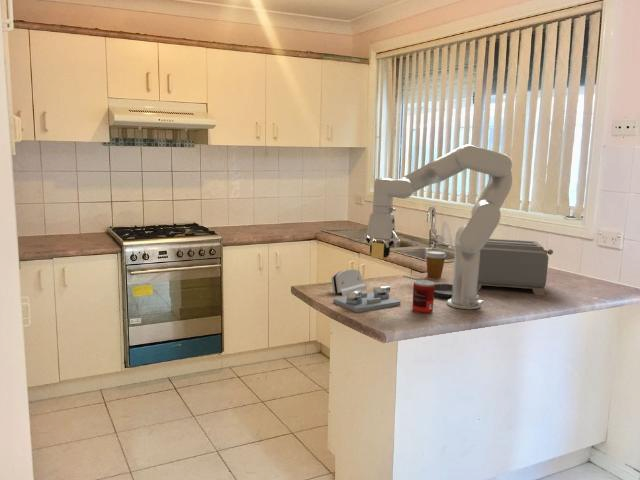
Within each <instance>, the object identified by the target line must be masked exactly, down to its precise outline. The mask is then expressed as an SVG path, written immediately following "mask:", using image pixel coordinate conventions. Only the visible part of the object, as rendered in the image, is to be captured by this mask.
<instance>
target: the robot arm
mask: <svg viewBox="0 0 640 480" xmlns="http://www.w3.org/2000/svg"><path fill="white" fill-rule="evenodd" d="M512 167H513V163H512V160H511V158H510V156H509V155H507V154H506V153H504V152H503V153H502V152H498V151H495V150H490V149H486V148H482V147H479V146H476V145H472V144H464V145H462V146H458V147H457V148H456V149H453V150H451V151H450V152H447V153H445V154H444V155H442V156H439V157H438V158H436V159H433V160H431V161H429V162H428V163H426V164H425V165H424V166H422V167H419V168H418V169H416V170H414V171H412V172H410V173H408V174H406V175H404V176H402V177H400V178H399V179H393V178H390V177H377V178H375V179H374V182H373V197H372V212H370V215H369V220H368V224H367V225H368V226H367V230H366V231H364V233H363V235H362V237H363V238H364V239H365V240H366V242H367V243H368V245H369V253H370V254H371V252H372V242H375V241H376V240H384V241H385V244H386V247H385V250H384V257H385V259H387V258H388V257H389V256H390V252H391V247H392V246H393V245H394V244H395V243H397V242H399V240H400V239H399V237H398V235H397V234H396V223H395V222H396V220H395V214H394V213H395V212H396V207H395V208H394V206H393V204H394V203H393V201H394V198H397V199H400V200H401V199H403V200H404V199H409V198H410V197H411V196H413V194H415V192H417V191H419V190H421V189H423V188H425V187H428V186H431V185H433V184H438V183H442V182H443V181H445V180H447V179H449V178H451V177H454V176H455V175H457V174H459V173H462V172H463V171H466V170H467V169H468V170H471V171H474V172H477V173H482V174H485V175H488V181H487V183H486V186H485V188H484V190H483V192H482V193H481V195H480V196H479V198H478V199H477V201H476V202H475V204H474V205H473V207H472V209H471V217H470V219H469V220H468V222H467V224H464V225H461V226H460V227H459V228H458V229H457V231H456V233H455V236H454V238H455V239H454V262H453V273H452V275H453V276H452V298H451V299H446V300H447V301H446V304H447V305H448V306H450V307H452V308H455V309H461V310H475V309H479V308H481V307H482V306H483V305H484V303H485V302H484V300H481V299H480V295H478V291H479V290H478V278H479V266H480V250H481V249H482V248H483V247H484V246H485V244H486V243H487V241H488V240H489V239H491V236H492V235H493V234H494V231H496V228H497V227H498V226H499V225H498V224H500V220H501V215H502V214H501V210H500V209H501V208H502V206H503V205H504V204H505V201H506V198H507V197H508V195H509V193H510V191H511V188H512V184H513V175H512ZM386 257H387V258H386Z"/></svg>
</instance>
